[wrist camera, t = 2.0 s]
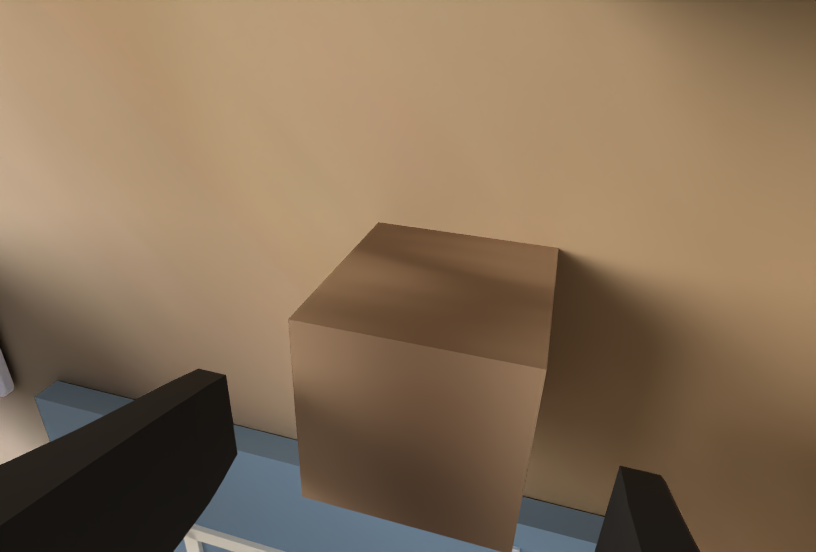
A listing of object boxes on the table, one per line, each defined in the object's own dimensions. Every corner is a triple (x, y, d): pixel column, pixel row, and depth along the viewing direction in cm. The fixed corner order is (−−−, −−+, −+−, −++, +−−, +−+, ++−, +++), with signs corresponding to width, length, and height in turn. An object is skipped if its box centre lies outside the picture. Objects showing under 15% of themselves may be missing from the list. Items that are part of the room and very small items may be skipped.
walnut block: (377, 364, 16) (301, 496, 12) (379, 221, 14) (288, 319, 10) (531, 396, 15) (511, 554, 11) (558, 247, 13) (547, 370, 9)
